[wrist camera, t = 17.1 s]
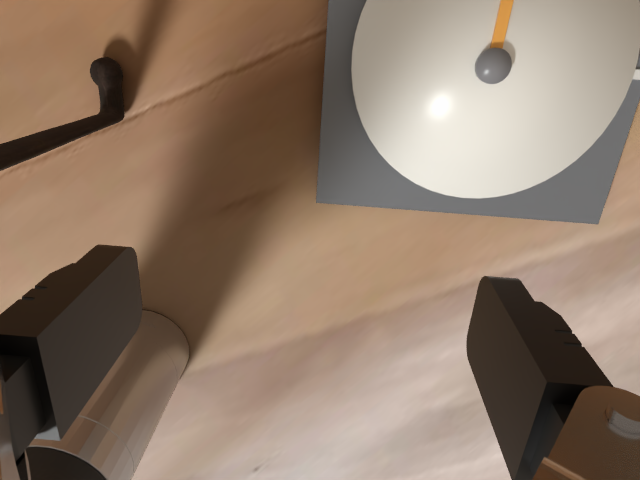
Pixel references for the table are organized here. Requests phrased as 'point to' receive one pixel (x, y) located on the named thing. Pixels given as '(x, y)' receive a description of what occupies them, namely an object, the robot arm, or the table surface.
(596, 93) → the dial
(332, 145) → the dial plate
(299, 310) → the table surface
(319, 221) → the table surface
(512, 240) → the table surface
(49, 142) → the wrench
